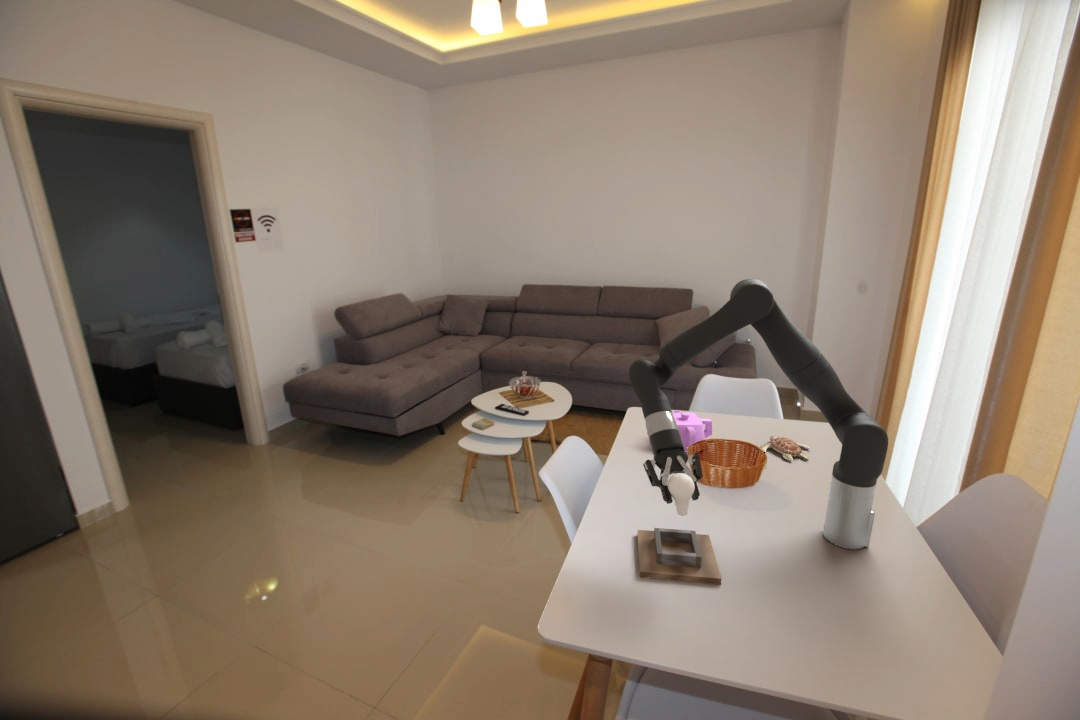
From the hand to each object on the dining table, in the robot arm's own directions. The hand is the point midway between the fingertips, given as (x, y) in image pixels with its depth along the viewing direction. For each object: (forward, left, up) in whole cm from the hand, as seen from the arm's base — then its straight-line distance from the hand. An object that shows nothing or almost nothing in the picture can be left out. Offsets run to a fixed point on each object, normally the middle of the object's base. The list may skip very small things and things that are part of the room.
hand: (682, 501), depth 112 cm
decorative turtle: (-43, -65, -17) cm, 80 cm away
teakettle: (-8, -67, -17) cm, 69 cm away
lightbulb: (0, -2, -5) cm, 5 cm away
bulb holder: (+1, -2, -17) cm, 17 cm away
